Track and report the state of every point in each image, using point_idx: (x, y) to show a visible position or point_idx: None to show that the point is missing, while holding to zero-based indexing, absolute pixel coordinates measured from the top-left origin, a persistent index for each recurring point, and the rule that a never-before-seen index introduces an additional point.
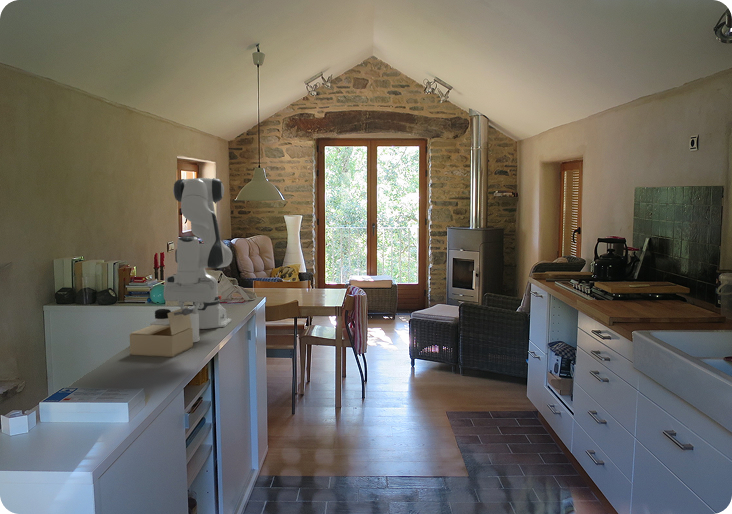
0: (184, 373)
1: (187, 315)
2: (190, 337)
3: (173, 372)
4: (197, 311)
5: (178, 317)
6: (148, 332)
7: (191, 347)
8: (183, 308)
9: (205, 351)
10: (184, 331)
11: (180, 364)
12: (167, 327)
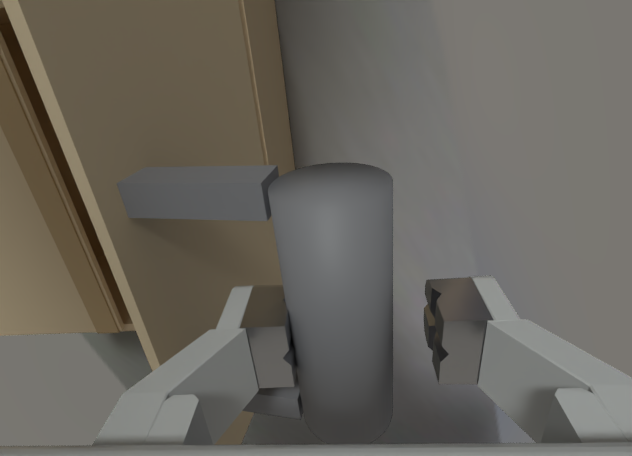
0: (490, 412)
1: (160, 36)
2: (263, 22)
3: (440, 411)
4: (496, 292)
5: (212, 285)
6: (62, 298)
7: (275, 9)
8: (263, 380)
9: (429, 79)
10: (267, 150)
11: (414, 331)
12: (22, 95)
